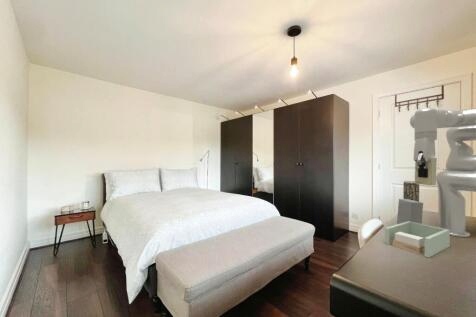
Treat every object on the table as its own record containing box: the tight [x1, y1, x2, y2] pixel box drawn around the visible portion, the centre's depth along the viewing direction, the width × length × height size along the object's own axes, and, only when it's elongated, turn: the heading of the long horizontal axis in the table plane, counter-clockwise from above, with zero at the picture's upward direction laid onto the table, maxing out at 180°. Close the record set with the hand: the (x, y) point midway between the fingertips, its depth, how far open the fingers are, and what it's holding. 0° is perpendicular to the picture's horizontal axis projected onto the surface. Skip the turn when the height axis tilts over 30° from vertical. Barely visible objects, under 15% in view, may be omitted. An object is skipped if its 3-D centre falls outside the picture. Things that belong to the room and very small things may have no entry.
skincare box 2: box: [414, 157, 438, 186], centre depth 93 cm, size 6×4×12 cm
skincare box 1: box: [396, 198, 424, 225], centre depth 108 cm, size 8×7×16 cm
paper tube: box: [402, 180, 420, 202], centre depth 116 cm, size 7×7×25 cm
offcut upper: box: [395, 232, 425, 247], centre depth 85 cm, size 5×8×3 cm, turn 30°
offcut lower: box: [392, 239, 425, 255], centre depth 85 cm, size 5×9×3 cm, turn 28°
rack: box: [384, 221, 451, 258], centre depth 88 cm, size 22×14×7 cm, turn 120°
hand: (425, 176), depth 93 cm, fingers closed on skincare box 2, 4 cm apart
